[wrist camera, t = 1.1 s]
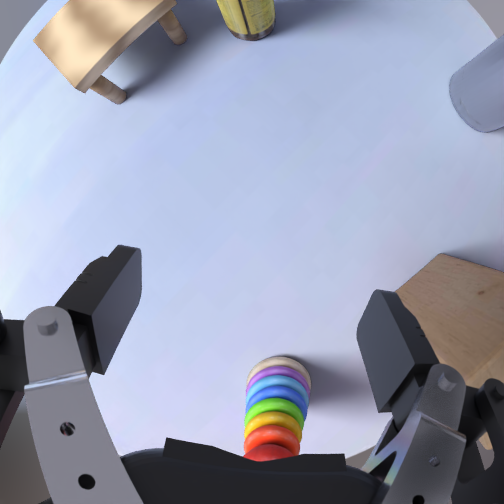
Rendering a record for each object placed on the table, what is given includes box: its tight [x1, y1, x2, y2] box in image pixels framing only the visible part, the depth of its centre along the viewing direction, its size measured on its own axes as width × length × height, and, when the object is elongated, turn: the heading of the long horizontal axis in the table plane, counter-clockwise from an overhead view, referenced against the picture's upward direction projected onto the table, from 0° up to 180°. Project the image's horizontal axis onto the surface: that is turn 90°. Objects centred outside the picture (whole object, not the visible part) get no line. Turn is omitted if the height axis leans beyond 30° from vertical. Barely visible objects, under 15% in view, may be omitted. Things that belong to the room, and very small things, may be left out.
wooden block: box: [395, 254, 504, 450], centre depth 24 cm, size 10×10×20 cm
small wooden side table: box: [33, 0, 187, 104], centre depth 29 cm, size 14×14×10 cm
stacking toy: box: [243, 357, 311, 461], centre depth 28 cm, size 8×8×19 cm
